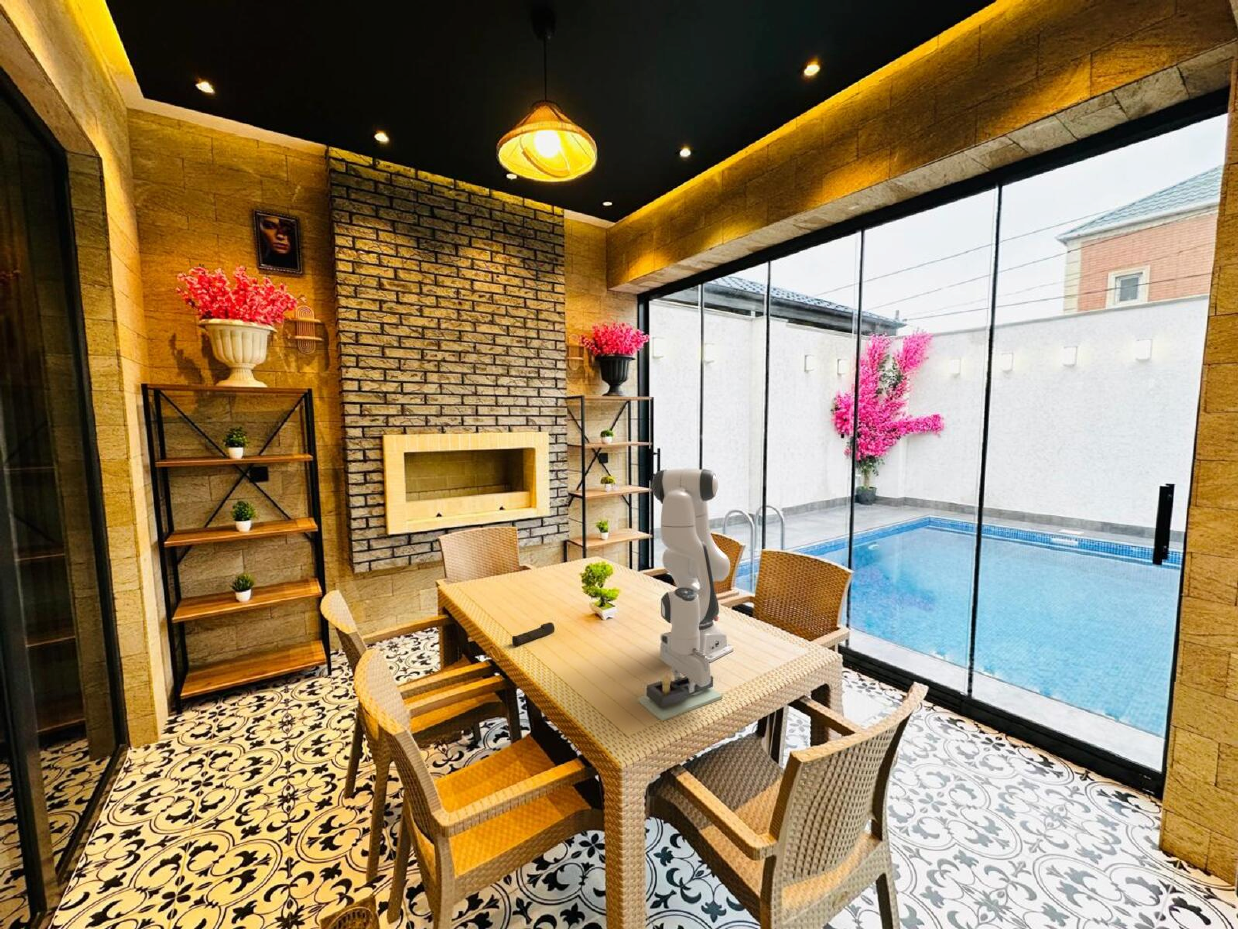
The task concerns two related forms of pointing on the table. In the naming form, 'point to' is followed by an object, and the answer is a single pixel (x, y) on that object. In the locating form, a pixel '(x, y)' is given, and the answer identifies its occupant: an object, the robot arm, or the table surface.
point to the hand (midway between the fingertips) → (684, 687)
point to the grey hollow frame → (673, 692)
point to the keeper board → (682, 707)
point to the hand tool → (534, 634)
